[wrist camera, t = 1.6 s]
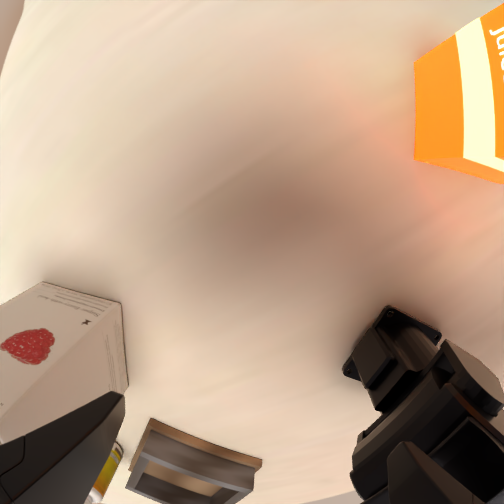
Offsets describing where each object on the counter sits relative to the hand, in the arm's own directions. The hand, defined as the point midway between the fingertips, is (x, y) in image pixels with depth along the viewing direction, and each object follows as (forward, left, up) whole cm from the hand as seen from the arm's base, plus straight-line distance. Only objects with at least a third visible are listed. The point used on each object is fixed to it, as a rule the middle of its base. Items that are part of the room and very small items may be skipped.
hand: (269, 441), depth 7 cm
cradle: (-2, +24, -13) cm, 27 cm away
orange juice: (-7, -17, -13) cm, 23 cm away
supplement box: (+12, +12, -13) cm, 21 cm away
